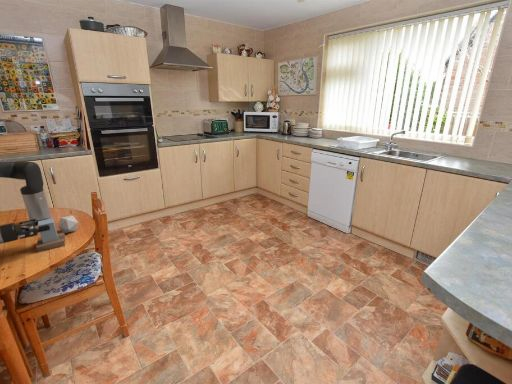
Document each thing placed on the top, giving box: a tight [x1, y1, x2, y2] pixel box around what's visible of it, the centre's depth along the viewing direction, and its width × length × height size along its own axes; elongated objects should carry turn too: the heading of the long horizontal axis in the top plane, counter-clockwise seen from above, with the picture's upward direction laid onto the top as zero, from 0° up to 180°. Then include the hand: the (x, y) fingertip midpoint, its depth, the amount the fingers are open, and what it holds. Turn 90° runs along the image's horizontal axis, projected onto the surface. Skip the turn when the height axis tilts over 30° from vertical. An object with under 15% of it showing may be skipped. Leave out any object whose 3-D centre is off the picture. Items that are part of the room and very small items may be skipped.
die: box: [57, 215, 79, 234], centre depth 136 cm, size 8×9×10 cm
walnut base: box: [35, 232, 66, 253], centre depth 125 cm, size 10×10×3 cm
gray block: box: [37, 217, 58, 244], centre depth 123 cm, size 6×6×9 cm
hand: (49, 223), depth 122 cm, fingers open, 8 cm apart
